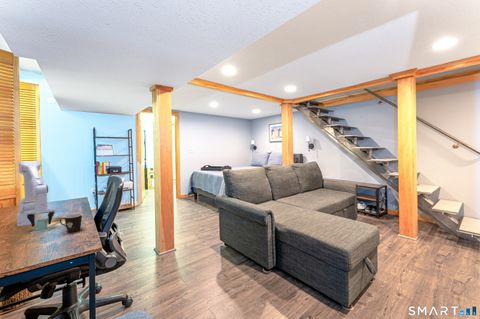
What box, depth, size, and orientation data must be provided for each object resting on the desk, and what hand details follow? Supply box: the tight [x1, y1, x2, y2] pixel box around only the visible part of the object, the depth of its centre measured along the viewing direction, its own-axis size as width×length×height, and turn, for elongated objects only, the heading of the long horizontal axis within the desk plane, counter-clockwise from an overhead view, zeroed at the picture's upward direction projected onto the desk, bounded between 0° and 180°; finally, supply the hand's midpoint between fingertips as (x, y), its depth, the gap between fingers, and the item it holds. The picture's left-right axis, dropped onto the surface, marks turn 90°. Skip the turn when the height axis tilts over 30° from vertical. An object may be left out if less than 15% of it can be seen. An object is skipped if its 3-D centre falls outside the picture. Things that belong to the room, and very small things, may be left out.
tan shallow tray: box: [46, 215, 66, 227], centre depth 142 cm, size 13×11×4 cm
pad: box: [29, 226, 54, 234], centre depth 131 cm, size 9×9×1 cm
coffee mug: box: [60, 213, 83, 234], centre depth 130 cm, size 12×9×10 cm
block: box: [35, 218, 47, 231], centre depth 131 cm, size 4×4×6 cm
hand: (41, 224), depth 131 cm, fingers open, 7 cm apart
